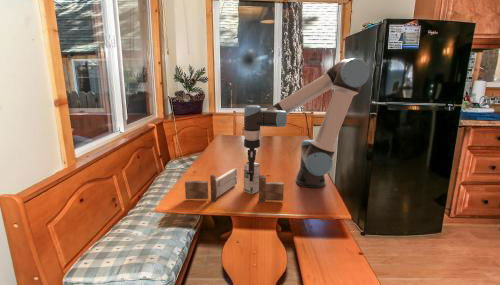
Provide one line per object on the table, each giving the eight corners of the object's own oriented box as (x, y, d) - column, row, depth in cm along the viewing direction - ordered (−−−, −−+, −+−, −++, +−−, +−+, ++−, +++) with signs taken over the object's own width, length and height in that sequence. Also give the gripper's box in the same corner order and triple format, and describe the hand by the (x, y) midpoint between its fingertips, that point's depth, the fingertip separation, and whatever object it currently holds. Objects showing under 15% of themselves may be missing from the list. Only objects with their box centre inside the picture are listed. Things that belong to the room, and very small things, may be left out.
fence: (282, 200, 133) (283, 175, 130) (283, 203, 130) (284, 178, 127) (187, 198, 134) (185, 173, 131) (185, 201, 131) (184, 176, 128)
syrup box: (243, 191, 142) (243, 163, 139) (251, 188, 147) (251, 160, 143) (251, 194, 139) (251, 166, 135) (259, 191, 143) (260, 163, 139)
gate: (217, 196, 133) (217, 180, 131) (214, 195, 134) (213, 180, 132) (236, 183, 149) (236, 169, 147) (233, 182, 150) (233, 168, 148)
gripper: (245, 133, 148) (245, 173, 153) (242, 145, 124) (242, 192, 130) (260, 133, 148) (259, 173, 153) (260, 145, 124) (259, 192, 130)
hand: (251, 182), depth 141 cm, fingers open, 12 cm apart
